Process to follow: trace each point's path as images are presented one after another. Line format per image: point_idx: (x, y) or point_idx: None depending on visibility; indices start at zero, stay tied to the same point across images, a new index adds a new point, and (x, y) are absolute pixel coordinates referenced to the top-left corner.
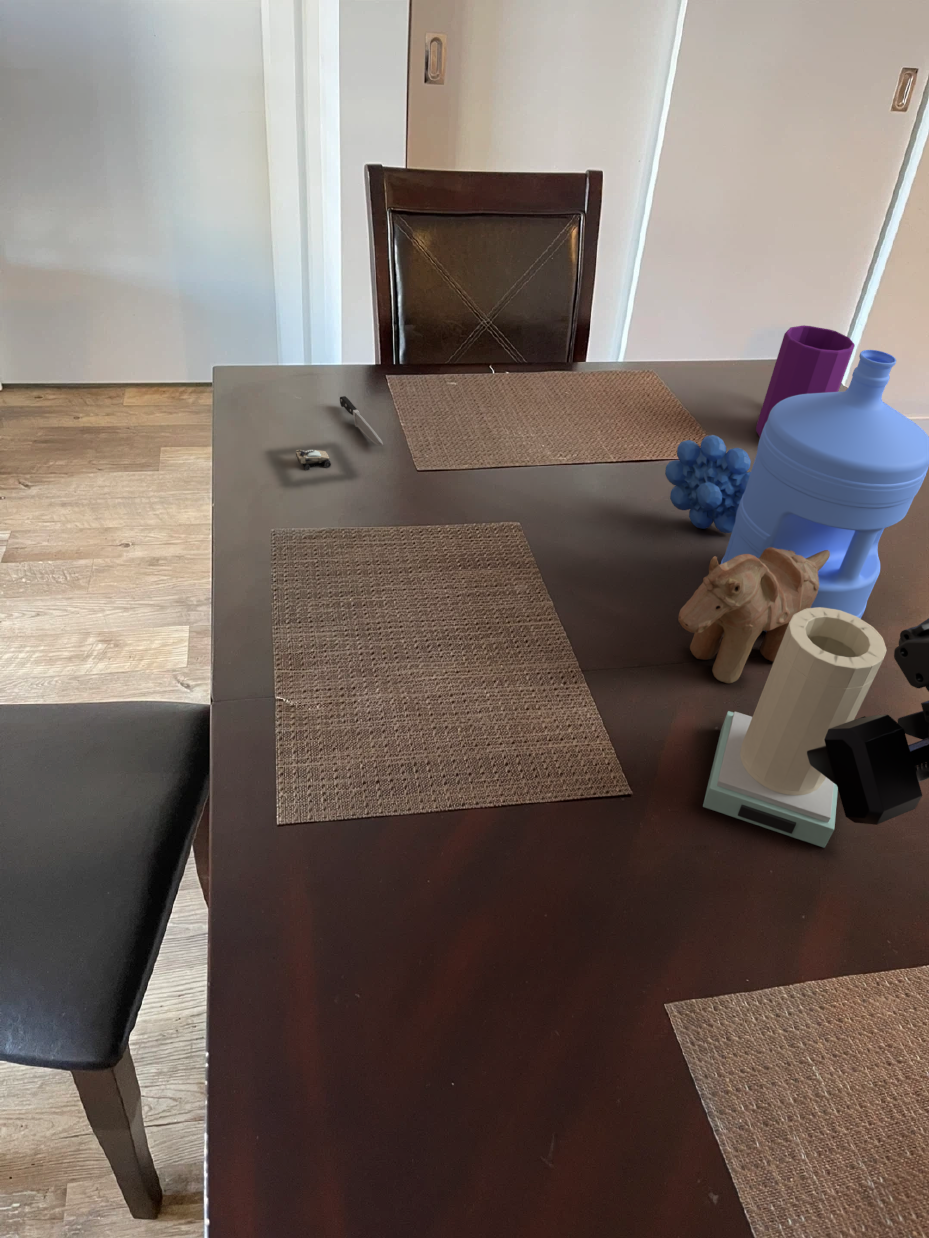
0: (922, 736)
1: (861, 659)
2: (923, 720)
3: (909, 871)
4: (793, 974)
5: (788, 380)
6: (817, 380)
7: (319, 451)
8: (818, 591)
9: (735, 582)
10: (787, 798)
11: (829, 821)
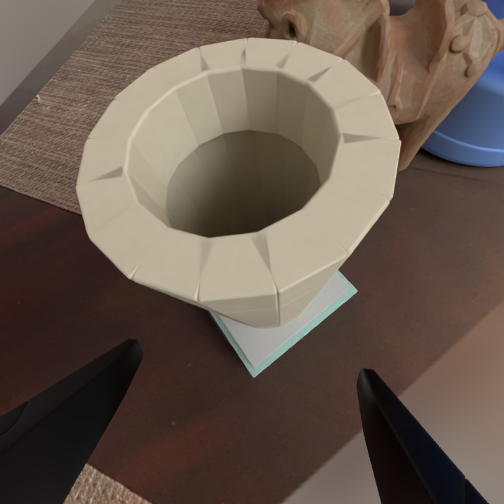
0: (370, 448)
1: (194, 253)
2: (384, 444)
3: (319, 451)
4: (114, 467)
5: None
6: None
7: None
8: (493, 94)
9: (284, 12)
10: (232, 321)
11: (257, 366)
